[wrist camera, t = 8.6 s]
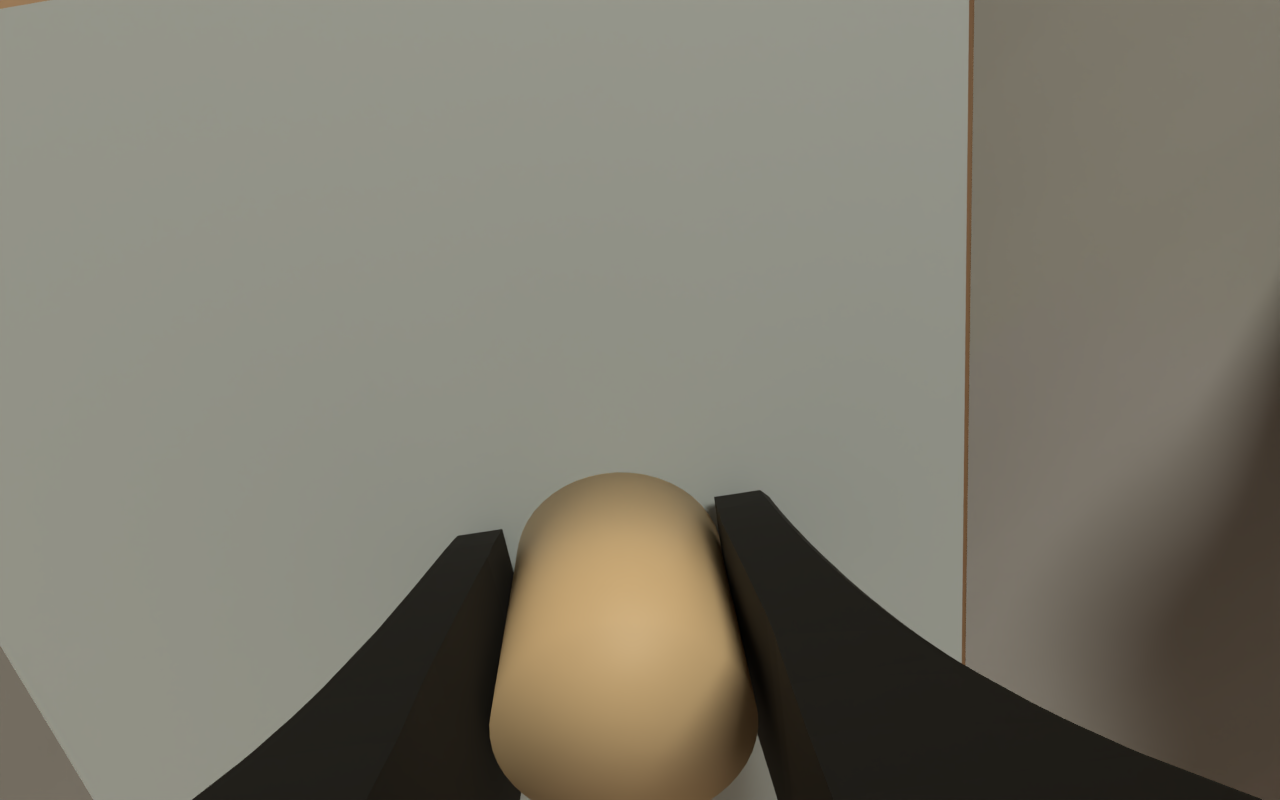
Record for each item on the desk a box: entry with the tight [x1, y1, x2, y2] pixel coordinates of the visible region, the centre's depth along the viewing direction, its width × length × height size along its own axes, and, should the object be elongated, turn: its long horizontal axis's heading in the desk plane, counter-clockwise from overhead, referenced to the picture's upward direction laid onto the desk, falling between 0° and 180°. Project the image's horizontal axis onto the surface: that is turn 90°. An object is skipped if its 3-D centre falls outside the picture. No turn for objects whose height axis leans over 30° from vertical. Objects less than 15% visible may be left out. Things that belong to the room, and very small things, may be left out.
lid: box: [0, 0, 969, 800], centre depth 11 cm, size 13×15×4 cm
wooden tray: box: [0, 0, 974, 665], centre depth 13 cm, size 14×21×6 cm, turn 9°
